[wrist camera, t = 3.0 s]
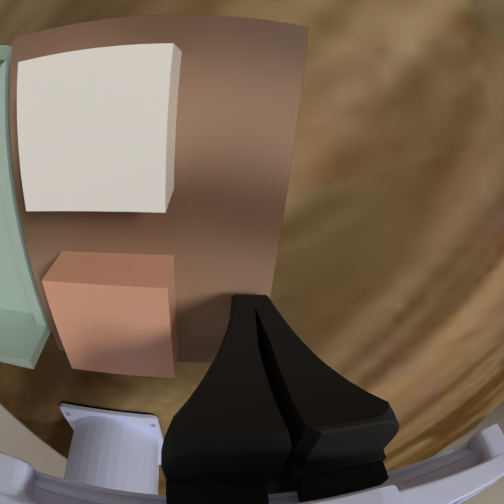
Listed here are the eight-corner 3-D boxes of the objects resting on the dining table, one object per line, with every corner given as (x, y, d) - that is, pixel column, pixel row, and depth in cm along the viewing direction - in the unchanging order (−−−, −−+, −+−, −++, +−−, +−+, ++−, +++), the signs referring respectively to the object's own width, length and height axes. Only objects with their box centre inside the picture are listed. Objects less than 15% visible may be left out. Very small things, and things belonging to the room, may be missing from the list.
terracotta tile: (177, 343, 14) (175, 378, 12) (83, 336, 13) (72, 368, 11) (174, 255, 11) (167, 288, 10) (62, 250, 11) (41, 280, 9)
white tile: (173, 189, 10) (165, 212, 8) (52, 189, 10) (26, 211, 8) (181, 51, 8) (173, 43, 6) (49, 62, 7) (18, 62, 6)
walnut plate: (252, 327, 17) (258, 362, 15) (73, 318, 15) (59, 350, 13) (291, 37, 10) (308, 27, 8) (44, 42, 9) (13, 38, 6)
